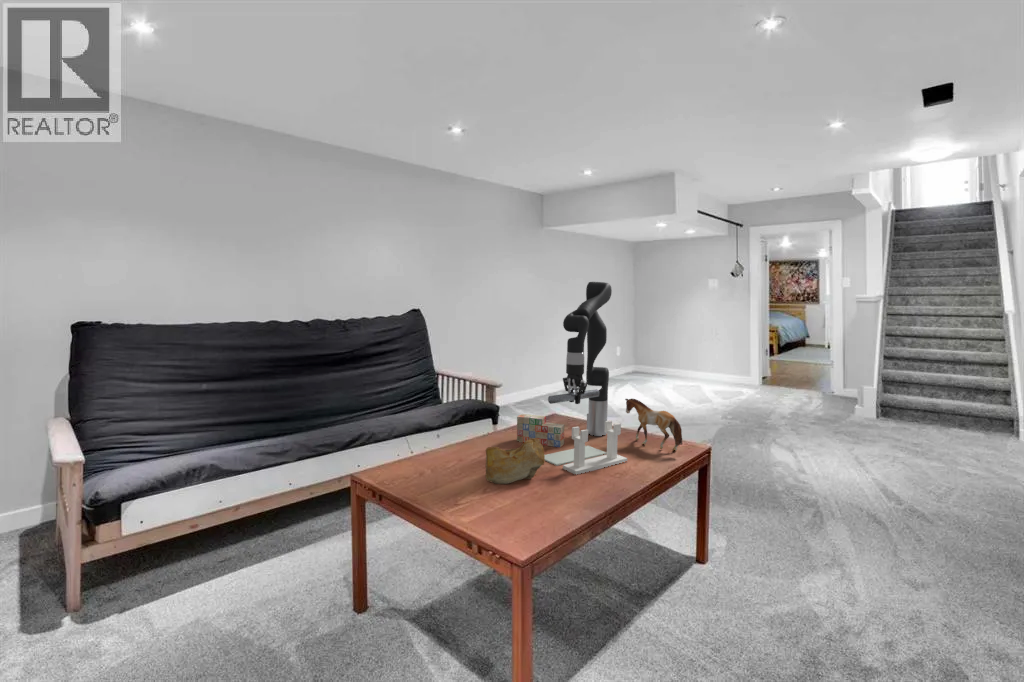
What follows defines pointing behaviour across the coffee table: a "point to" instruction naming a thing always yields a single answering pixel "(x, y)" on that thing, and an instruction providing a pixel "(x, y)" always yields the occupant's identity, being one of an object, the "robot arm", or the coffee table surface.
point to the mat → (571, 455)
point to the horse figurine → (655, 421)
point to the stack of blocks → (539, 430)
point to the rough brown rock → (514, 462)
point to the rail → (572, 396)
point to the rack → (597, 462)
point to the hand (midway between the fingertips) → (574, 402)
